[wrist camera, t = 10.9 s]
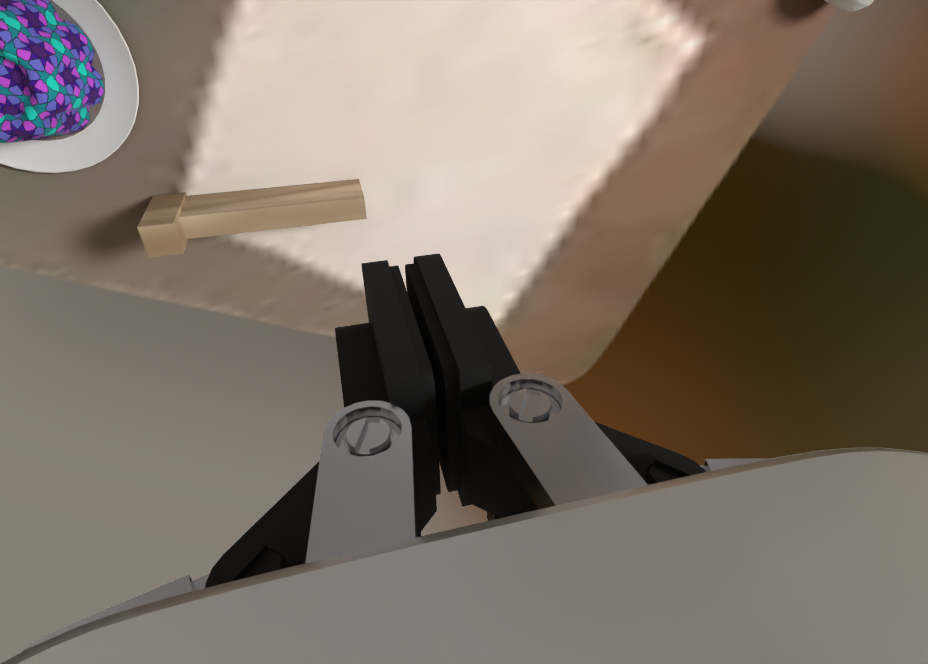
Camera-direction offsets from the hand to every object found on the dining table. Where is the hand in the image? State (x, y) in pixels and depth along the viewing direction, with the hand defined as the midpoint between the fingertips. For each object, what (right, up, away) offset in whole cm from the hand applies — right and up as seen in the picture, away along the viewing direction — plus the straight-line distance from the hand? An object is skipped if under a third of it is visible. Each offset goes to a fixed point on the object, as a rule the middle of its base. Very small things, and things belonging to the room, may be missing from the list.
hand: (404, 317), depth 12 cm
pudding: (-24, +15, +19) cm, 34 cm away
